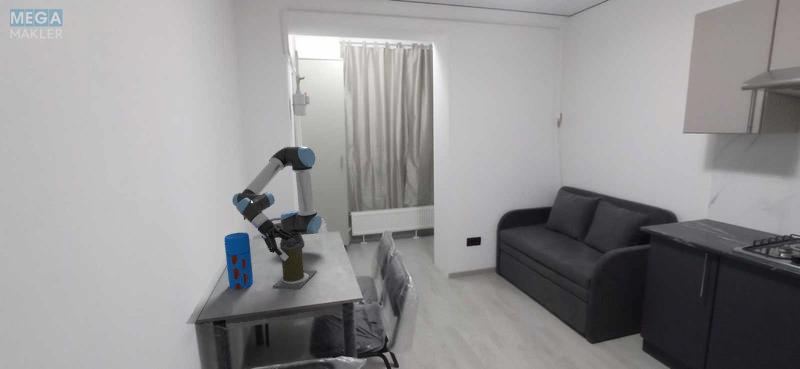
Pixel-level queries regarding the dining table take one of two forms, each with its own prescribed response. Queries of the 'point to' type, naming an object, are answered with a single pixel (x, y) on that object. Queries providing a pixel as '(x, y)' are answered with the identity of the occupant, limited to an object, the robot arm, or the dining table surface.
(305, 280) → the circle mat
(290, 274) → the canister
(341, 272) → the dining table surface
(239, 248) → the thermos
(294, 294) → the dining table surface
